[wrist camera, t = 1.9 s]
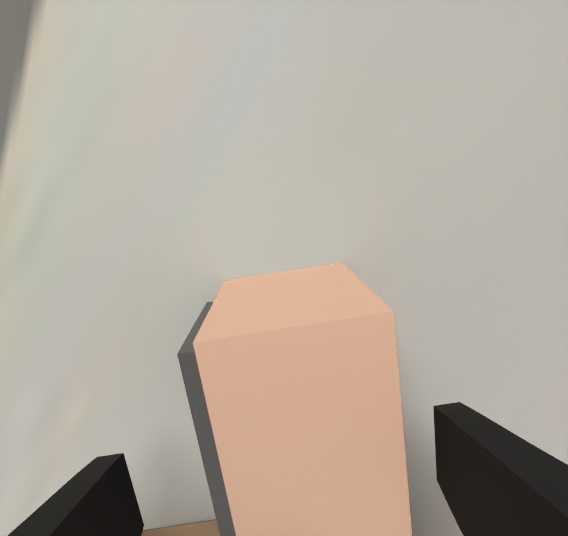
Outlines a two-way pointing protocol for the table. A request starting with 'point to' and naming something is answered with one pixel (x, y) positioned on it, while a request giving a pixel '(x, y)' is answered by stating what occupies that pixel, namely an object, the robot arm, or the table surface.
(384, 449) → the peach rectangular block
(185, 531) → the walnut rack
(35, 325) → the table surface
